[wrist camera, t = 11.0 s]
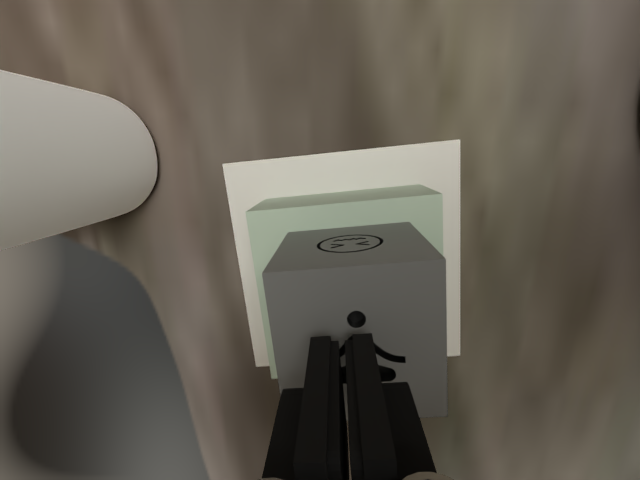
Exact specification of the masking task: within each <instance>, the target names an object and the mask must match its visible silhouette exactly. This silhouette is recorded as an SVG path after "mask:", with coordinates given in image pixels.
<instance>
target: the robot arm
mask: <svg viewBox="0 0 640 480" xmlns="http://www.w3.org/2000/svg"><path fill="white" fill-rule="evenodd" d="M352 339H353V340H345V359H346V381H347V404H348V426H349V448H350V464H351V476H352V480H454V479H452V478H450V477H448V476H446V475H443V474H439V473H437V472H436V469H435V466H434V463H433V460H432V456H431V453H430V450H429V447H428V444H427V440H426V437H425V434H424V431H423V428H422V424H421V421H420V418H419V415H418V412H417V409H416V405H415V402H414V399H413V396H412V393H411V389H410V386H409V384H408V382H394V383H382V382H381V377H380V372H379V367H378V362H377V357H376V352H375V347H374V342H373V337H372V333H365V334H352ZM259 480H349V460H348V436H347V422H346V411H345V401H344V391H343V381H342V370H341V360H340V350H339V341H331V336H320V337H311V338H310V345H309V352H308V359H307V367H306V374H305V381H304V388H288V389H283V390H282V393H281V397H280V401H279V405H278V410H277V414H276V419H275V423H274V427H273V432H272V436H271V440H270V445H269V449H268V454H267V458H266V462H265V467H264V471H263V475H262V479H259Z"/></svg>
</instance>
